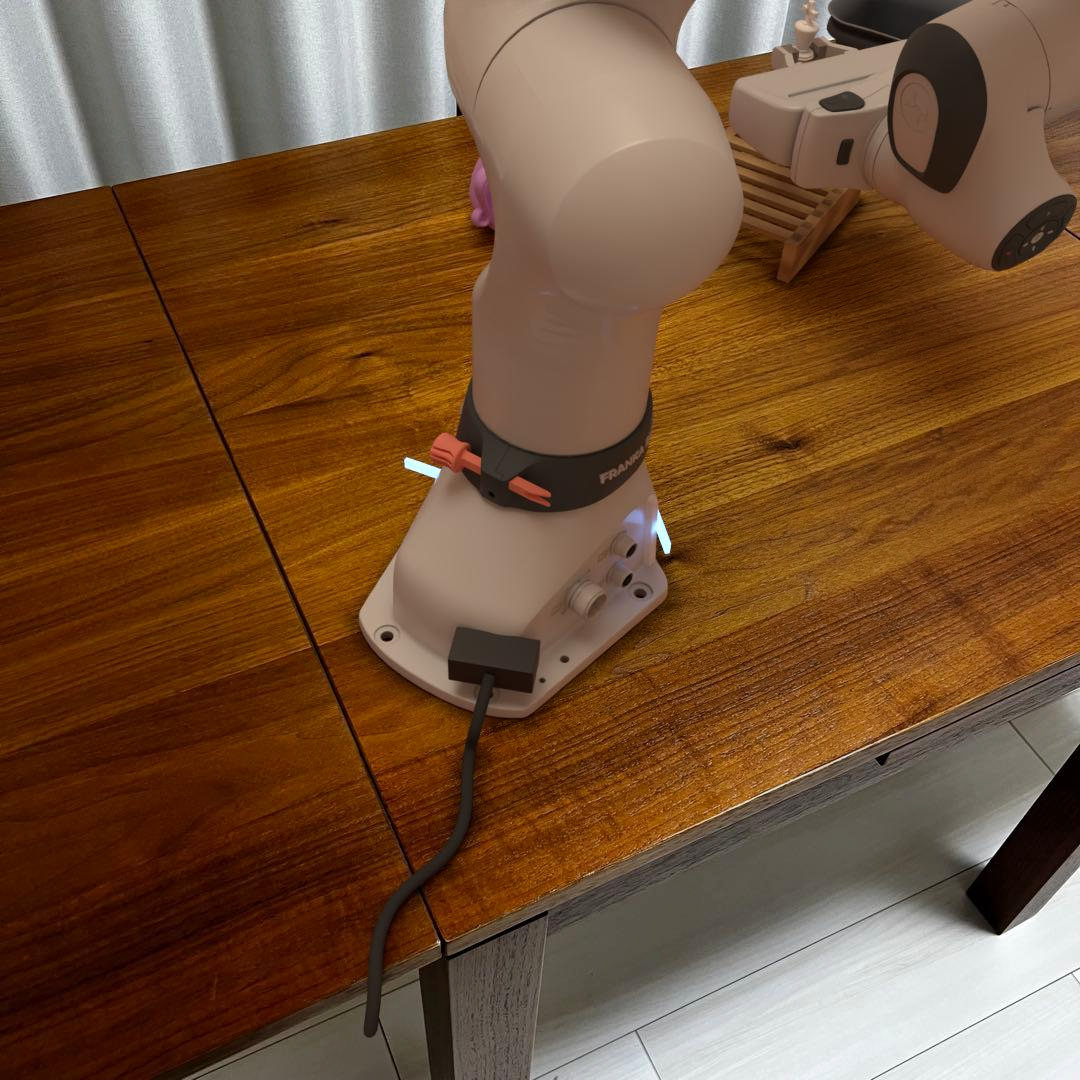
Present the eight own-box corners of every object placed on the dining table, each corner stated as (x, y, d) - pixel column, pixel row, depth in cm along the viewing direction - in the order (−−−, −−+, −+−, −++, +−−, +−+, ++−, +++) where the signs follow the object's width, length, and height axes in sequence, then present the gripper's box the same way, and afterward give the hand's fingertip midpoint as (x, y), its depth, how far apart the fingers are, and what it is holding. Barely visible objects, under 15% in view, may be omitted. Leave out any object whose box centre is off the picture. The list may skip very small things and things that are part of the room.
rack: (788, 284, 107) (797, 246, 104) (652, 230, 112) (657, 193, 109) (858, 202, 116) (868, 165, 113) (730, 155, 121) (736, 119, 118)
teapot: (437, 224, 111) (433, 132, 104) (553, 167, 118) (557, 77, 111) (512, 276, 106) (514, 183, 99) (628, 213, 113) (638, 123, 106)
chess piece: (780, 134, 102) (803, 19, 95) (749, 107, 105) (770, -7, 98) (827, 123, 104) (854, 9, 96) (796, 96, 107) (820, -16, 99)
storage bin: (1031, 159, 122) (1084, 22, 111) (983, 231, 113) (1036, 90, 103) (838, 97, 129) (870, -38, 118) (779, 161, 120) (808, 22, 110)
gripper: (1012, 64, 94) (902, -9, 102) (798, 118, 87) (698, 35, 95) (987, 137, 98) (883, 62, 106) (782, 193, 92) (688, 109, 100)
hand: (794, 49), depth 101 cm, fingers closed on chess piece
